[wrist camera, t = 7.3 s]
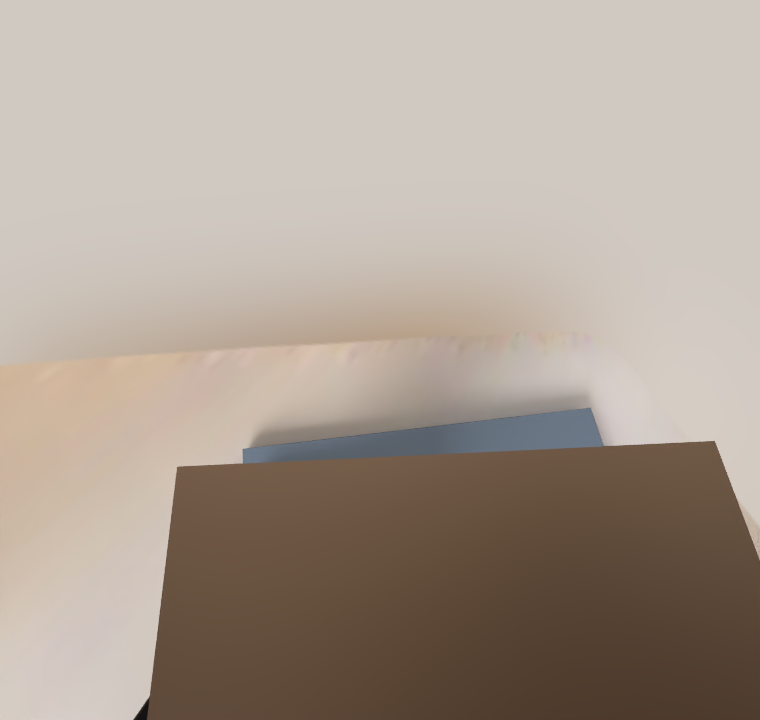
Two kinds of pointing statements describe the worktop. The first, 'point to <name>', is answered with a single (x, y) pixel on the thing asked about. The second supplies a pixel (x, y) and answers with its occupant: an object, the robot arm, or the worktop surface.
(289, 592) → the walnut pillar
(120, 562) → the worktop surface
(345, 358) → the worktop surface
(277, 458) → the board
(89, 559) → the worktop surface
